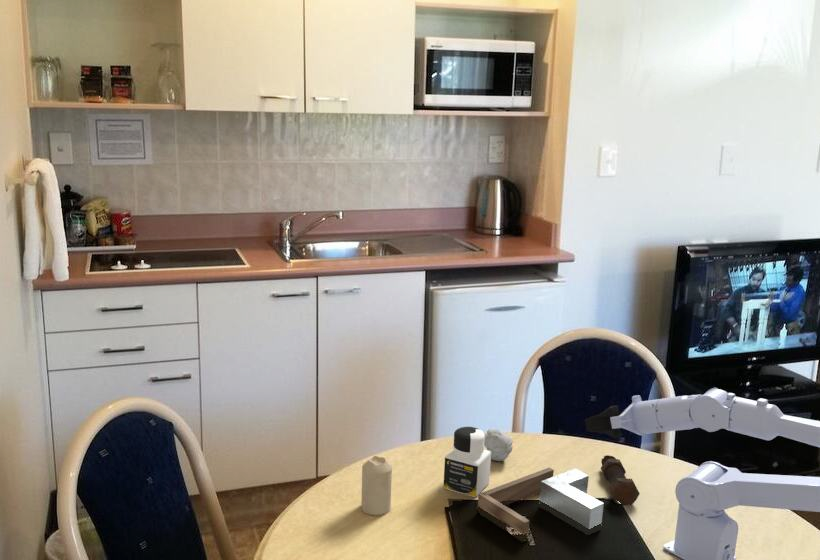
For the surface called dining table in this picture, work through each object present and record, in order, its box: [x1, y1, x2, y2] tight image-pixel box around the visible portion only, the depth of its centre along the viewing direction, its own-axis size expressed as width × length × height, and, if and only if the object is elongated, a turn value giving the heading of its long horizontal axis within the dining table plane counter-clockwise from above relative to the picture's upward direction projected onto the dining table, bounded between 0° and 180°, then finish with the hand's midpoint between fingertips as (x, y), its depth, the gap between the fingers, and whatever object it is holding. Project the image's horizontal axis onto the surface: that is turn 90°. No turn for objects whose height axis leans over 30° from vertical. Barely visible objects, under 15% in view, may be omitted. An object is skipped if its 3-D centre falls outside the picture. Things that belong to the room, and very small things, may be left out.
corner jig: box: [477, 467, 555, 535], centre depth 145 cm, size 12×19×4 cm, turn 127°
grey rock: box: [484, 428, 514, 462], centre depth 165 cm, size 6×7×7 cm
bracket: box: [539, 468, 605, 529], centre depth 145 cm, size 12×10×6 cm
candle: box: [361, 455, 393, 516], centre depth 144 cm, size 6×6×10 cm
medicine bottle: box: [442, 426, 492, 498], centre depth 153 cm, size 7×7×12 cm
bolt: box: [600, 455, 640, 506], centre depth 156 cm, size 6×5×15 cm
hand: (598, 422), depth 144 cm, fingers open, 7 cm apart
